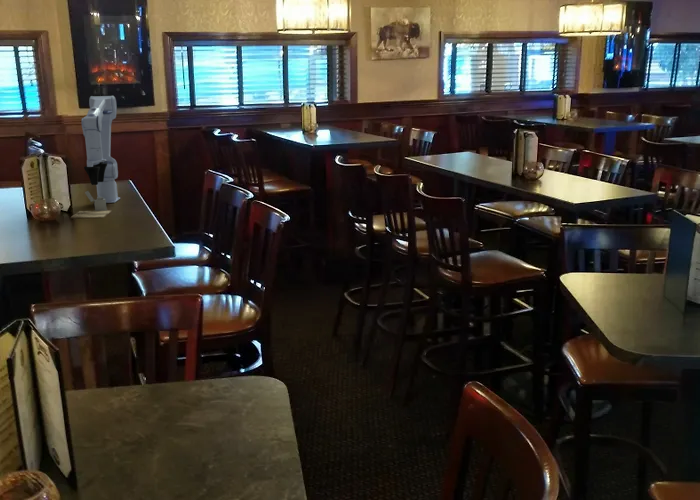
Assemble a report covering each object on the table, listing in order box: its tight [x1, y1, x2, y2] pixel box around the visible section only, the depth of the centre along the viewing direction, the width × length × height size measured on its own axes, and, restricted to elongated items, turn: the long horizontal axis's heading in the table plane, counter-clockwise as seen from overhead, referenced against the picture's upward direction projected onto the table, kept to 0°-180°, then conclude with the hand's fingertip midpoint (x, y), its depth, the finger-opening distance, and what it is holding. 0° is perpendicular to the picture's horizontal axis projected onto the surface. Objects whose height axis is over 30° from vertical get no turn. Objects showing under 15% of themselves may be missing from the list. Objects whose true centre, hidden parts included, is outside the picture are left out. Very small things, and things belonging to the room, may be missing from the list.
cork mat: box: [70, 209, 113, 219], centre depth 258 cm, size 11×12×1 cm
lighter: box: [84, 190, 108, 211], centre depth 264 cm, size 7×2×8 cm, turn 112°
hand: (97, 183), depth 267 cm, fingers open, 7 cm apart
